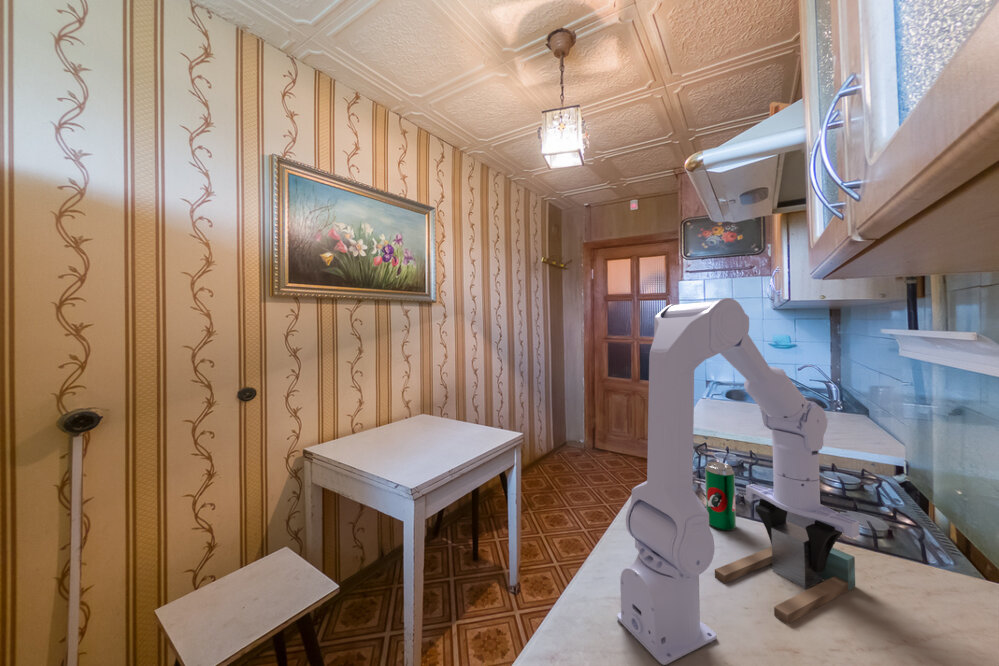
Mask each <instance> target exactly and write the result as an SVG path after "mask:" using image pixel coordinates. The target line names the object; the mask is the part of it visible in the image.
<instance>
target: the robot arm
mask: <svg viewBox="0 0 999 666" xmlns="http://www.w3.org/2000/svg"><path fill="white" fill-rule="evenodd" d="M653 327H654V330H653V332H654V333H653V340H652V343H651V345H650V346H651V347H650V350H649V357H648V359H649V360H648V363H649V364H648V412H647V413H648V415H647V416H648V417H647V418H648V419H647V465H646V467H647V469H646V470H647V474H646V478H647V479H646V480H645V481H644V482H641V483H640V484H637V485H636V486H635V487H633V488H632V489H631V499H630V504H629V505H628V508H627V511H626V515H625V526H626V529H627V532H628V533H629V535H630V536H631V537H632V538H634V547H635V548H636V550H637V551H638V554H637V556H636V558H635V560H634V561H633V562H632V563H631V564H630V565H628V566H627V567H626V568H624V569H623V570H622V571H621V575H620V579H619V580H620V581H619V582H620V612H619V613H617V614H616V618H617V620H618V621H619V622H620V623H621V624H622V625H623V626H624V627H625V628H626V629H627V630H628V632H629V633H631V635H632V636H633V637H634V638H635V639H636V640H637V641H638V642H639V643H640V644H641V645H642V646H643V647H644V648H645V649H646V650H647V651H648V652H649V653H650V654H651V655H652V656H653V658H654V659H655V660H657V662H658V663H660V664H661V665H663V666H665V665H668V664H670V663H673V662H674V661H676V660H678V659H680V658H682V657H683V656H685V655H688V654H690V653H692V652H693V651H696V650H698V649H699V648H702V647H703V646H705V645H707V644H709V643H711V642H712V641H715V640H717V639H718V634H717V633H716V632H715V631H714V630H713V629H712V628H710V627H709V626H708V625H707V624H705V623H704V622H703V621H702V620H701V610H700V609H701V607H700V605H701V603H700V601H701V600H700V575H701V574H703V573H704V572H705V571H706V570H707V569H708V568H709V567H710V565H711V564H712V561H713V559H714V555H715V540H714V535H713V533H712V530H711V527H710V526H711V525H710V524H709V513H708V511H707V510H706V506H705V505H704V504H703V502H702V501H701V499H700V498H699V496H698V495H697V493H695V490H694V485H693V484H694V482H693V481H694V477H693V475H694V474H693V473H694V421H695V419H694V418H695V416H694V415H695V412H694V411H695V410H694V409H695V396H694V395H695V370H696V369H697V368H698V367H699V366H700V365H701V364H702V363H704V361H706V360H707V359H710V358H712V357H715V356H717V355H718V354H720V355H721V356H722V357H723V359H725V360H726V361H727V362H728V363H729V364H730V365H731V366H732V367H734V368H735V370H736V371H738V373H739V374H740V375H742V376H743V377H744V379H745V380H744V383H743V385H744V386H743V388H744V390H745V392H746V393H747V394H748V395H749V397H751V399H752V400H754V402H755V403H756V404H757V405H758V407H759V412H760V413H761V417H762V422H763V425H764V427H765V428H768V429H769V430H771V434H772V435H771V438H772V439H771V440H772V442H771V443H772V470H773V471H772V475H773V480H772V481H773V488H769V487H766V486H765V487H764V486H761V485H758V484H755V483H751V484H747V485H745V497H747V498H749V499H756V500H758V501H759V502H758V504H756V505H755V506H754V508H755V509H754V510H755V512H756V513H757V515H758V516H759V517H760V520H761V522H762V523H763V526H764V527H765V530H766V532H767V535H768V537H769V541H770V544H771V546H772V533H771V528H772V527H775V526H778V525H780V524H783V523H786V522H787V517H788V516H787V515H788V513H791V514H794V515H796V516H797V515H798V516H799V517H802V518H805V519H808V520H810V521H813V522H814V523H811V524H809V525H806V526H805V529H806V531H807V534H808V538H809V542H810V548H811V567H812V570H813V571H815V572H817V573H819V572H821V571H823V570H825V566H826V562H827V558H828V556H829V553H830V551H831V549H832V547H833V548H834V545H835V543H836V542H837V540H838V539H839V538H840V537H841V536H842V535H843V536H845V537H848V538H850V539H854V538H856V537H858V536H860V521H858V520H856V519H853V518H850V517H849V516H845V515H844V514H841V513H840V512H838V511H835V510H833V508H832V509H831V508H829V507H827V506H826V505H823V504H821V492H820V491H821V490H820V489H821V487H820V486H821V482H820V481H821V480H820V452H819V451H820V450H822V449H823V446H824V438H825V437H824V436H825V434H826V431H827V427H828V424H829V423H828V422H829V421H828V419H829V418H827V414H826V411H825V410H824V408H823V407H822V406H821V405H818V404H817V403H816V402H815V401H810V400H808V399H806V398H805V397H804V395H803V393H801V391H800V390H799V389H798V387H797V386H796V385H795V384H794V382H793V381H792V380H791V379H790V377H789V376H788V375H787V374H786V372H785V371H784V369H782V368H779V367H776V366H769V364H768V363H767V361H766V360H765V358H764V356H763V355H762V354H761V352H760V350H759V348H758V347H757V346H756V344H755V343H754V341H753V340H752V338H751V337H750V335H749V330H750V317H749V315H748V314H746V313H745V310H744V309H743V307H742V305H741V304H740V303H739V302H738V301H737V300H735V299H734V298H731V297H725V298H720V299H716V300H715V299H714V300H707V301H699V302H698V301H697V302H690V303H689V302H688V303H681V304H679V303H671V304H668V305H667V306H665V307H664V308H662V309H661V311H660V312H658V313H657V314H656V315H655V316H654V325H653Z"/></svg>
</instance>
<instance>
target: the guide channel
mask: <svg viewBox="0 0 999 666" xmlns="http://www.w3.org/2000/svg"><path fill="white" fill-rule="evenodd" d="M855 561H856V560H855V556H854V555H851V554H848V553H847V552H844V551H843V550H839V549H837V548H835V547H834V546H833V547H832V549H831V551H830V553H829V556H828V558H827V562H826V566H825V570H823V571H822V579H824V581H822V582H819V583H817V584H815V585H813V586H811V587H809V588H807V589H805V591H803V592H800V593H799V594H796V595H794V596H791V598H789V599H787V600H785V601H783V602H780V603H779V604H776V605H775V606H773V609H774V610H773V616H774V617H776V618H777V619H778V620H780V621H782V622H784V623H785V624H786V625H789V624H791V623H793V622H794V621H797V619H799V618H801V617H803V616H805V615H807V614H809V613H811V612H812V611H814V610H817V608H819V607H821V606H823V605H825V604H828V602H830V601H832V600H834V599H836V598H837V597H840V596H841V595H843V594H845V593H847V592H848V591H850V590H852V589H855V587H856V566H855V565H856V563H855ZM768 565H772V546H770V547H768V548H764V549H762V550H760V551H758V552H755V553H752V554H750V555H747V556H744V557H742V558H740V559H737V560H735V561H732V562H730V563H727V564H725V565H722V566H720V567H716V568H715V569H714V578H715V579H717V580H719V581H721V582H722V583H723V584H727V583H730V582H732V581H733V580H736V579H737V578H738V579H739V578H741V577H742V576H743V577H744V576H745V575H747V574H749V573H752V572H754V571H757V570H759V569H761V568H764V567H766V566H768Z"/></svg>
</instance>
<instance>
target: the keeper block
mask: <svg viewBox="0 0 999 666" xmlns="http://www.w3.org/2000/svg"><path fill="white" fill-rule="evenodd" d="M771 533H772V545H771V547H772V563H771V565H772V569H771V571H772V572H773V573H775V574H777V575H779V576H780V577H782V578H785V579H786V580H788V581H790V582H792V583H793V584H795V585H797V586H798V587H800V588H803V589H804V590H807V589H809V588H811V587H813V586H815V585H817V584H819V583H821V581H822V582H823V578H822V571H821V572H819V573H817V572H815V571H813V570H812V567H811V548H810V542H809V538H808V534H807V531H806V528H804V527H801V526H800V525H797V524H796V523H795V524H794V523H792V522H790V521H786V523H783V524H780V525H778V526H775V527H772V528H771Z"/></svg>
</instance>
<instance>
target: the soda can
mask: <svg viewBox="0 0 999 666" xmlns="http://www.w3.org/2000/svg"><path fill="white" fill-rule="evenodd" d="M704 474H705V476H704V477H705V480H704V481H705V483H704V484H705V508H706V510H707V511H708V513H709V526H711V527H712V528H714V529H717V530H719V531H726V532H727V531H732V530H734V529H736V527H737V519H736V518H737V517H736V482H735V481H736V479H735V478H736V477H735V472H734V470H733V467H732V466H731V465H729V464H728V463H724V462H720V461H719V462H717V461H711V462H709V461H708V463H706V467H705V468H704Z"/></svg>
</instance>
